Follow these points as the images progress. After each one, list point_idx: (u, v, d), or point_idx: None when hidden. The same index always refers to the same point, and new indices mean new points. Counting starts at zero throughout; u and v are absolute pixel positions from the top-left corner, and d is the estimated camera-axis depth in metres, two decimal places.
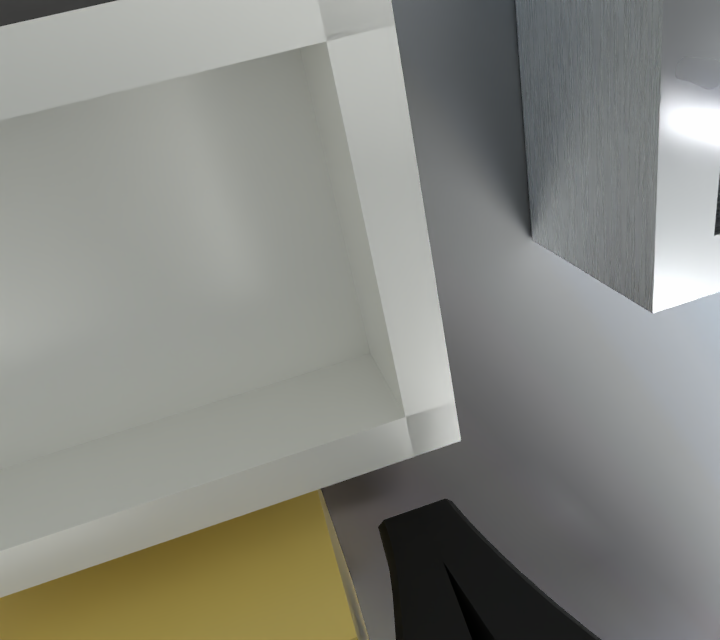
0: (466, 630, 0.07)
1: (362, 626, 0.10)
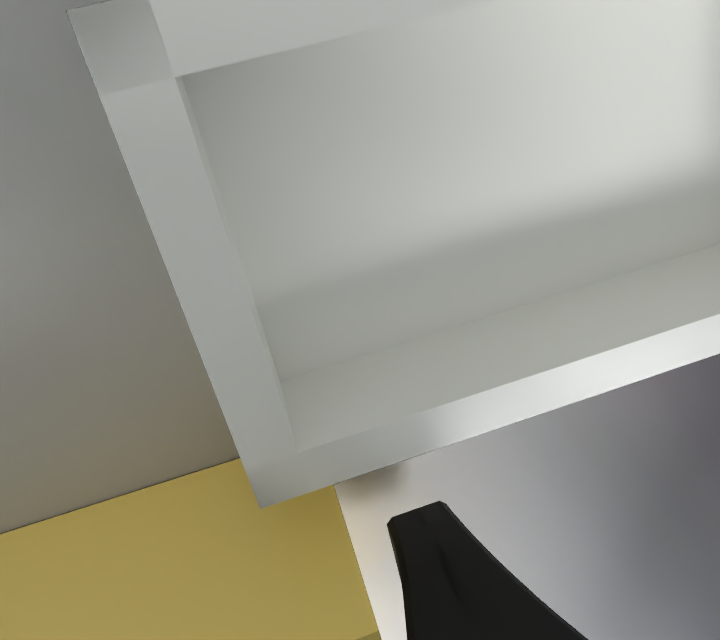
0: (477, 626, 0.07)
1: None
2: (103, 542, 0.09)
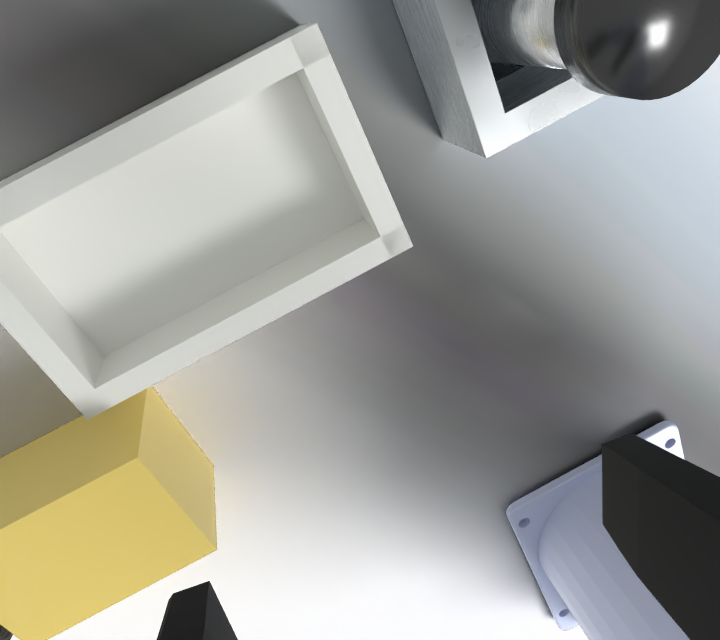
0: None
1: (190, 473, 0.18)
2: (37, 451, 0.18)
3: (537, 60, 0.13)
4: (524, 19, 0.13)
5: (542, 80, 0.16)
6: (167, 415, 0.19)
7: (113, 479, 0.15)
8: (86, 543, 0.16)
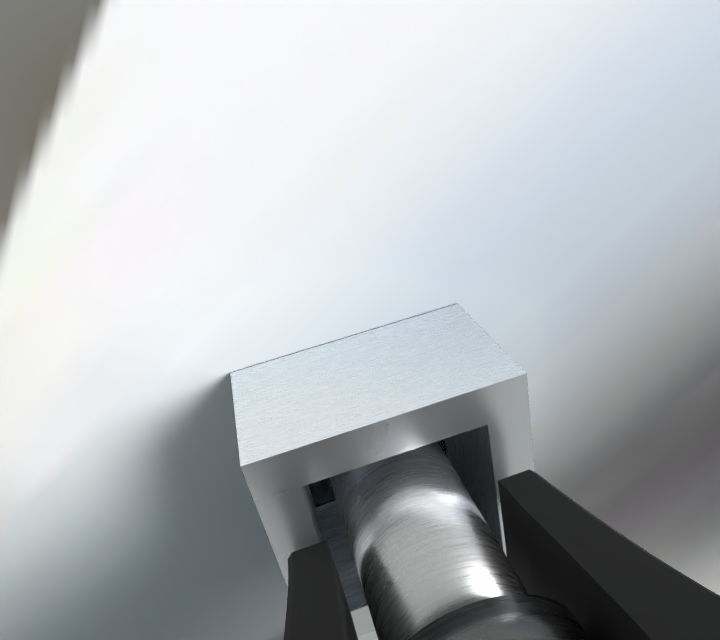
0: None
1: None
2: None
3: None
4: None
5: (475, 465, 0.12)
6: None
7: None
8: None
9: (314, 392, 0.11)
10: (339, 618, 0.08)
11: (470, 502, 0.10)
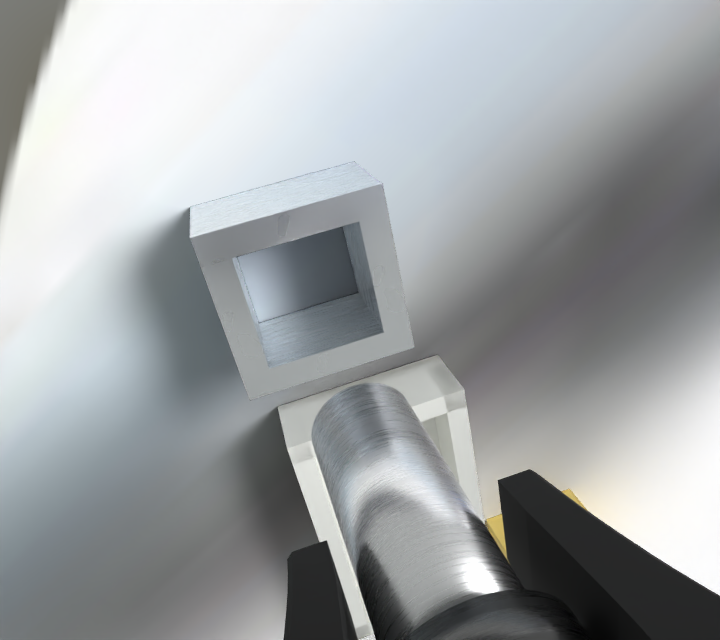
0: None
1: None
2: None
3: None
4: None
5: (363, 269, 0.17)
6: None
7: None
8: None
9: (244, 207, 0.16)
10: (339, 618, 0.08)
11: (465, 499, 0.10)
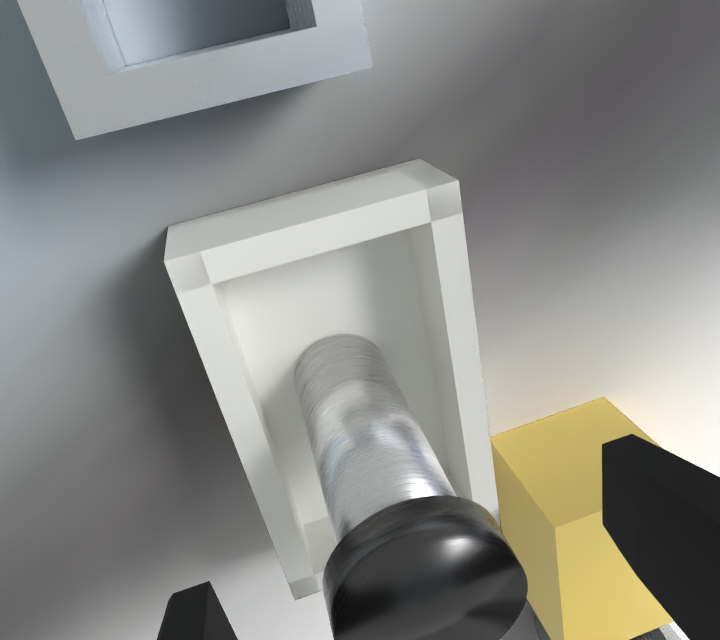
0: None
1: (598, 449, 0.17)
2: (512, 537, 0.19)
3: None
4: None
5: None
6: (530, 435, 0.18)
7: (565, 547, 0.16)
8: (614, 572, 0.17)
9: None
10: None
11: (418, 431, 0.12)
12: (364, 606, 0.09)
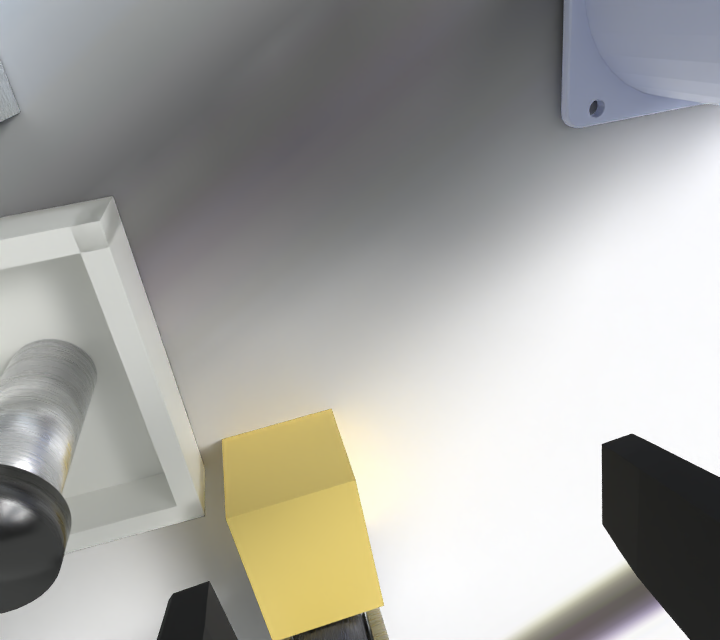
0: None
1: (299, 454, 0.20)
2: None
3: None
4: None
5: None
6: (254, 438, 0.21)
7: (241, 536, 0.18)
8: (298, 560, 0.19)
9: None
10: None
11: (53, 419, 0.14)
12: None
